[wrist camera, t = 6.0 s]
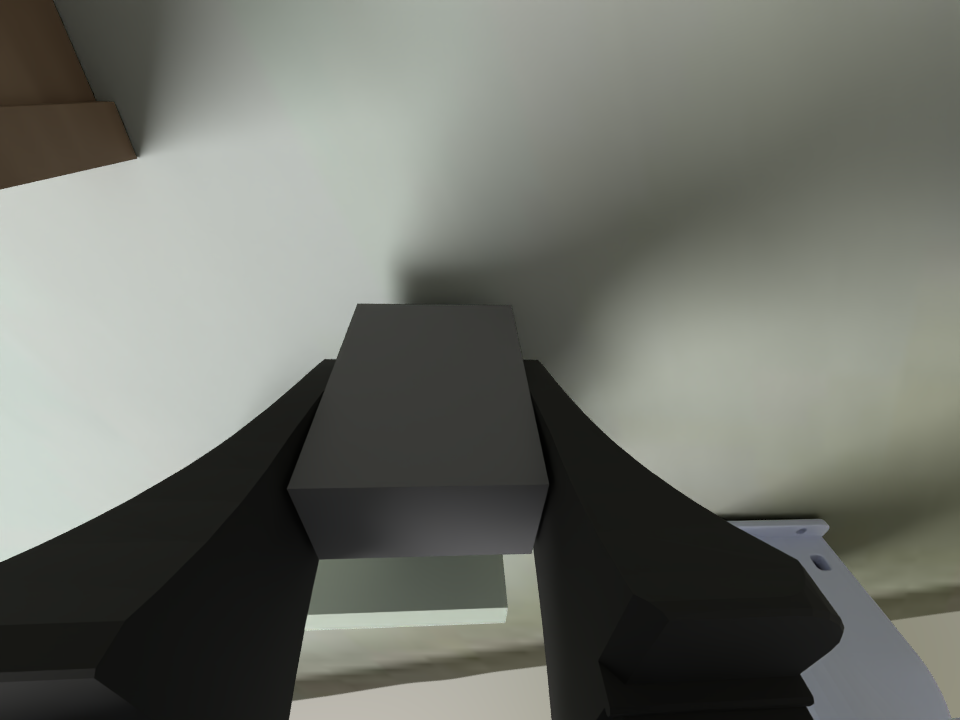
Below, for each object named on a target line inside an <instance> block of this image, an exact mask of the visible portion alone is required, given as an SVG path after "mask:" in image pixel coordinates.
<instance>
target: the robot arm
mask: <svg viewBox="0 0 960 720" xmlns="http://www.w3.org/2000/svg"><path fill="white" fill-rule="evenodd" d="M335 362H336V359H324V360H323V361H322V362H321V363H319V364H318V365H317V366H316V367H315V368H314V369H312V370H311V371H310V372H309V373H308V374H307V375H306V376H305V377H303V378H302V379H301V380H300V381H299V382H298V383H297V384H296V385H294V386H293V387H292V388H291V389H290V390H289V391H287V392H286V393H285V394H284V395H283V396H282V397H280V398H279V399H278V400H277V401H276V402H275V403H273V404H272V405H271V406H270V407H269V408H267V409H266V410H265V411H264V412H262V413H261V414H260V415H258V416H257V417H256V418H255V419H253V420H252V421H251V422H249V423H248V424H247V425H246V426H244V427H243V428H242V429H241V430H239V431H238V432H237V433H235V434H234V435H233V436H231V437H230V438H228V439H227V440H226V441H224V442H223V443H221V444H220V445H219V446H217V447H216V448H214V449H213V450H211V451H210V452H208V453H207V454H205V455H204V456H202V457H201V458H199V459H198V460H196V461H194V462H193V463H191V464H190V465H188V466H187V467H185V468H183V469H182V470H180V471H178V472H177V473H175V474H173V475H172V476H170V477H168V478H166V479H165V480H163V481H161V482H160V483H158V484H156V485H154V486H153V487H151V488H149V489H147V490H146V491H144V492H142V493H141V494H139V495H137V496H135V497H134V498H132V499H130V500H128V501H126V502H125V503H123V504H121V505H119V506H117V507H115V508H113V509H111V510H109V511H107V512H105V513H104V514H102V515H100V516H98V517H96V518H94V519H92V520H90V521H88V522H86V523H84V524H82V525H80V526H78V527H76V528H74V529H72V530H70V531H68V532H66V533H64V534H62V535H59V536H57V537H55V538H53V539H51V540H49V541H47V542H45V543H43V544H41V545H38V546H36V547H34V548H32V549H29V550H27V551H25V552H23V553H20V554H18V555H16V556H14V557H11V558H9V559H7V560H5V561H3V562H0V720H289V715H290V709H291V703H292V697H293V691H294V685H295V679H296V674H297V668H298V663H299V657H300V652H301V646H302V641H303V635H304V630H305V625H306V620H307V615H308V610H309V605H310V600H311V596H312V591H313V586H314V581H315V577H316V572H317V568H318V563H319V559H318V556H317V554H316V552H315V550H314V548H313V545H312V543H311V541H310V539H309V537H308V534H307V532H306V530H305V528H304V525H303V523H302V521H301V519H300V517H299V514H298V512H297V510H296V508H295V506H294V503H293V501H292V499H291V497H290V495H289V492H288V490H287V487H288V485H289V482H290V480H291V477H292V474H293V472H294V469H295V466H296V464H297V461H298V459H299V456H300V453H301V451H302V448H303V445H304V443H305V440H306V438H307V435H308V432H309V430H310V427H311V424H312V422H313V419H314V417H315V414H316V411H317V409H318V406H319V404H320V401H321V398H322V396H323V393H324V390H325V388H326V385H327V383H328V380H329V377H330V375H331V372H332V369H333V367H334V364H335ZM523 363H524V368H525V372H526V377H527V382H528V387H529V391H530V396H531V401H532V405H533V410H534V415H535V420H536V424H537V429H538V434H539V439H540V443H541V448H542V453H543V457H544V462H545V467H546V472H547V476H548V481H549V487H548V491H547V495H546V499H545V503H544V507H543V511H542V515H541V519H540V523H539V526H538V530H537V534H536V538H535V542H534V546H533V550H534V558H535V566H536V573H537V582H538V590H539V599H540V608H541V616H542V625H543V635H544V645H545V654H546V664H547V674H548V685H549V696H550V707H551V718H552V720H960V718H953V719H951V716H950V712H949V710H948V707H947V704H946V702H945V700H944V697H943V695H942V692H941V691H940V689H939V687H938V685H937V683H936V681H935V679H934V678H933V676H932V674H931V673H930V671H929V670H928V668H927V667H926V665H925V664H924V662H923V661H922V660H921V658H920V657H919V656H918V654H917V653H916V652H915V651H914V649H913V648H912V647H911V646H910V645H909V643H908V642H907V641H906V640H905V638H904V637H903V636H902V635H901V633H900V632H899V631H898V630H897V628H896V627H895V626H894V625H893V624H892V622H891V621H890V620H889V619H888V617H887V616H886V615H885V614H884V612H883V611H882V610H881V609H880V608H879V606H878V605H877V604H876V603H875V601H874V600H873V599H872V598H871V596H870V595H869V594H868V593H867V592H866V590H865V589H864V588H863V587H862V585H861V584H860V583H859V582H858V580H857V579H856V578H855V577H854V576H853V574H852V573H851V572H850V571H849V569H848V568H847V567H846V566H845V564H844V563H843V562H842V561H841V560H840V558H839V557H838V556H837V555H836V553H835V552H834V551H833V550H832V548H831V547H830V546H829V545H828V544H827V542H826V541H825V540H824V539H823V537H822V536H823V535H824V534H825V533H826V532H827V531H828V530H829V525H828V524H827V523H826V522H825V521H824V520H823V519H790V520H748V521H726V520H724V519H722V518H721V517H719V516H717V515H716V514H714V513H712V512H711V511H709V510H707V509H706V508H704V507H702V506H701V505H699V504H698V503H696V502H695V501H693V500H691V499H690V498H688V497H687V496H685V495H684V494H682V493H681V492H679V491H678V490H676V489H675V488H673V487H672V486H671V485H669V484H668V483H666V482H665V481H664V480H662V479H661V478H659V477H658V476H656V475H655V474H654V473H652V472H651V471H650V470H648V469H647V468H646V467H644V466H643V465H642V464H640V463H639V462H638V461H636V460H635V459H634V458H633V457H632V456H630V455H629V454H628V453H627V452H626V451H624V450H623V449H622V448H621V447H619V446H618V445H617V444H616V443H615V442H614V441H612V440H611V439H610V438H609V437H608V436H607V435H606V434H605V433H604V432H603V431H602V430H601V429H599V428H598V427H597V426H596V425H595V424H594V423H593V422H592V421H591V420H590V419H589V418H588V417H587V416H586V415H585V414H584V413H583V411H582V410H581V409H580V408H579V407H578V406H577V405H576V404H575V403H574V402H573V401H572V399H571V398H570V397H569V396H568V395H567V394H566V393H565V392H564V390H563V389H562V388H561V387H560V386H559V385H558V383H557V382H556V381H555V380H554V379H553V377H552V376H551V375H550V374H549V372H548V371H547V370H546V369H545V367H544V366H543V365H542V364H541V363H540V362H539V361H538V360H523Z"/></svg>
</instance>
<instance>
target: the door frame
mask: <svg viewBox="0 0 960 720" xmlns="http://www.w3.org/2000/svg"><path fill="white" fill-rule="evenodd" d="M133 159H137V157H136V154H135V152H134V150H133V147H132V145H131V142H130V140H129V137H128V135H127V132H126V130H125V128H124V125H123V123H122V120H121V118H120V115H119V113H118V110H117V108H116V106H115V103H114V102H106V101H96V100H95V98H94V95H93V93H92V91H91V88H90V86H89V84H88V81H87V79H86V77H85V74H84V72H83V70H82V67H81V65H80V63H79V60H78V58H77V56H76V53H75V51H74V49H73V46H72V44H71V42H70V39H69V37H68V35H67V32H66V30H65V28H64V25H63V23H62V21H61V19H60V16H59V14H58V12H57V9H56V7H55V5H54V2H53V0H0V189H4V188H9V187H13V186H18V185H22V184H26V183H31V182H35V181H40V180H44V179H48V178H53V177H57V176H62V175H66V174H71V173H75V172H79V171H84V170H88V169H93V168H97V167H102V166H106V165H110V164H115V163H119V162H124V161H128V160H133Z"/></svg>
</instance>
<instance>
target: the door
mask: <svg viewBox="0 0 960 720" xmlns="http://www.w3.org/2000/svg"><path fill="white" fill-rule="evenodd" d="M507 609H508V606H507V596H506V586H505V575H504V565H503V555H467V556H431V557H396V558H360V559H324V560H319V563H318V568H317V572H316V577H315V581H314V586H313V591H312V596H311V600H310V605H309V610H308V615H307V620H306V625H305V630H304V631H309V630H334V629H360V628H386V627H411V626H437V625H462V624H488V623H505V621H506V615H507Z"/></svg>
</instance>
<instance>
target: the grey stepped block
mask: <svg viewBox="0 0 960 720" xmlns="http://www.w3.org/2000/svg"><path fill="white" fill-rule="evenodd" d="M548 487H549V481H548V476H547V472H546V467H545V462H544V457H543V453H542V448H541V443H540V439H539V434H538V429H537V424H536V420H535V415H534V410H533V405H532V401H531V396H530V391H529V387H528V382H527V377H526V372H525V368H524V363H523V358H522V354H521V349H520V344H519V339H518V335H517V330H516V325H515V320H514V316H513V311H512V306H511V305H430V304H357V307H356V309H355V312H354V314H353V317H352V320H351V322H350V325H349V327H348V330H347V333H346V335H345V338H344V341H343V343H342V346H341V348H340V351H339V354H338V356H337V359H336V362H335V364H334V367H333V369H332V372H331V375H330V377H329V380H328V383H327V385H326V388H325V390H324V393H323V396H322V398H321V401H320V404H319V406H318V409H317V411H316V414H315V417H314V419H313V422H312V424H311V427H310V430H309V432H308V435H307V438H306V440H305V443H304V445H303V448H302V451H301V453H300V456H299V459H298V461H297V464H296V466H295V469H294V472H293V474H292V477H291V480H290V482H289V485H288V487H287V490H288V492H289V495H290V497H291V499H292V501H293V503H294V506H295V508H296V510H297V512H298V514H299V517H300V519H301V521H302V523H303V525H304V528H305V530H306V532H307V534H308V537H309V539H310V541H311V543H312V545H313V548H314V550H315V552H316V554H317V556H318V559H319V560H324V559H360V558H396V557H431V556H467V555H502V554H532V550H533V546H534V542H535V538H536V534H537V530H538V526H539V523H540V519H541V515H542V511H543V507H544V503H545V499H546V495H547V491H548Z"/></svg>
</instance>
